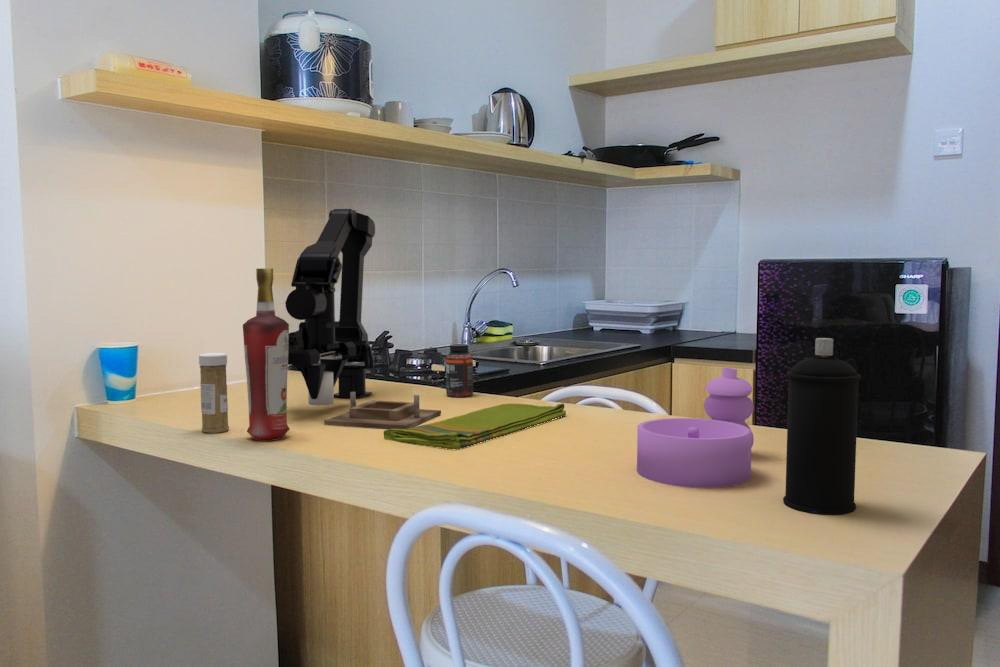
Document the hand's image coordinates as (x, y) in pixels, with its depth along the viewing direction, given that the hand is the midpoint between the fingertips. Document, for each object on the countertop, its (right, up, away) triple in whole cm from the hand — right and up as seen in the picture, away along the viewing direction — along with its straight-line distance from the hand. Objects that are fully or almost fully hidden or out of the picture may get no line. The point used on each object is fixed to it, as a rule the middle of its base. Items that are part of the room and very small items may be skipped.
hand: (321, 396), depth 163 cm
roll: (0, -1, 0) cm, 1 cm away
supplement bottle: (+26, -2, +21) cm, 34 cm away
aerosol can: (+73, -8, -62) cm, 96 cm away
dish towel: (+31, -5, -14) cm, 35 cm away
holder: (+13, -4, -7) cm, 16 cm away
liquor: (-4, -5, -24) cm, 24 cm away
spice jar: (-14, -5, -18) cm, 24 cm away
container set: (+64, -7, -43) cm, 78 cm away
